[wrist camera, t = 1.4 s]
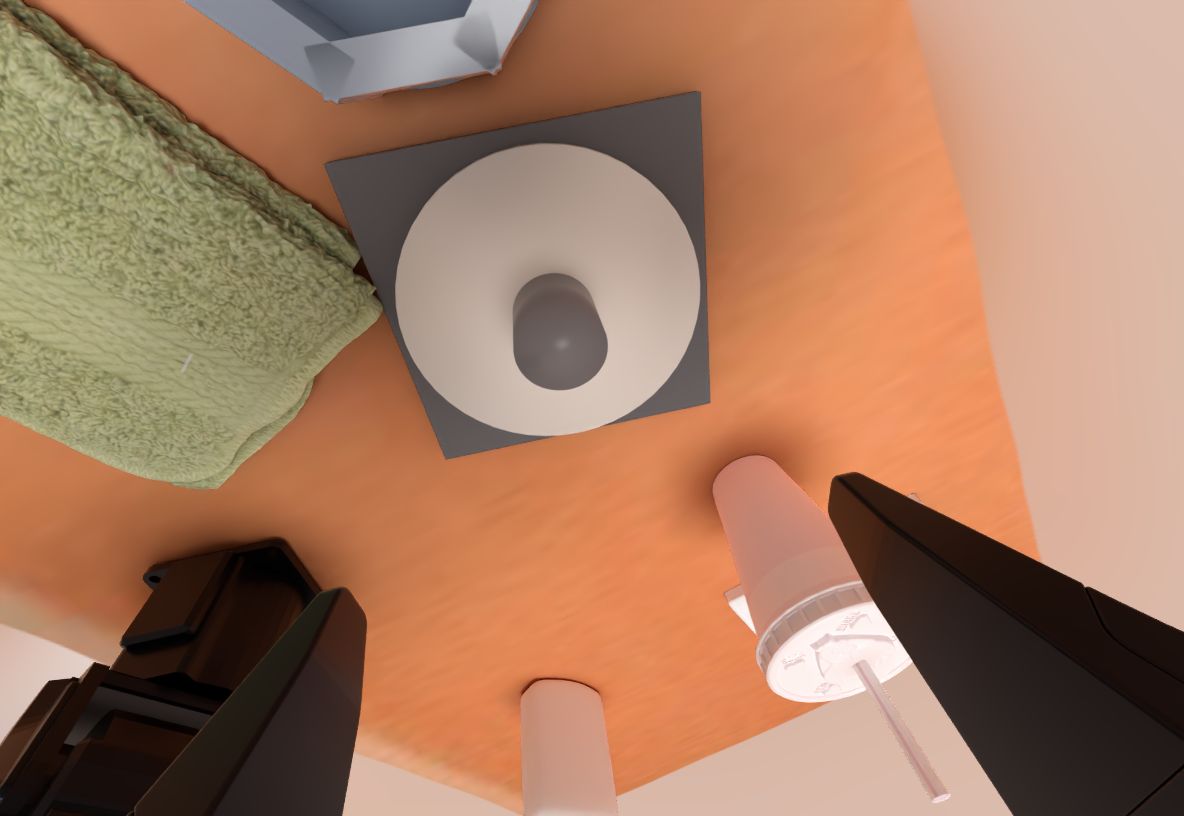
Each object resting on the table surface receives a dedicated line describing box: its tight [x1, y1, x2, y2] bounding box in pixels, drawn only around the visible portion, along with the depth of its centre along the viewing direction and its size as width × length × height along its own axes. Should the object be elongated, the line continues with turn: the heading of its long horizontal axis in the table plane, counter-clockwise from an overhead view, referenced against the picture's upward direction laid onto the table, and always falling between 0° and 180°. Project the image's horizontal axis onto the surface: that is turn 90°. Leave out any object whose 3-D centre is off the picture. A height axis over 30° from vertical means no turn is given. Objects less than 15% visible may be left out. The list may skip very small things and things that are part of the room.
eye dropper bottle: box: [520, 680, 618, 816], centre depth 30 cm, size 4×6×12 cm
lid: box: [395, 142, 700, 436], centre depth 18 cm, size 11×11×4 cm
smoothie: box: [712, 455, 950, 802], centre depth 21 cm, size 6×6×14 cm
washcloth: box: [0, 0, 383, 490], centre depth 15 cm, size 13×18×3 cm
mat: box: [324, 91, 710, 459], centre depth 20 cm, size 12×12×1 cm
